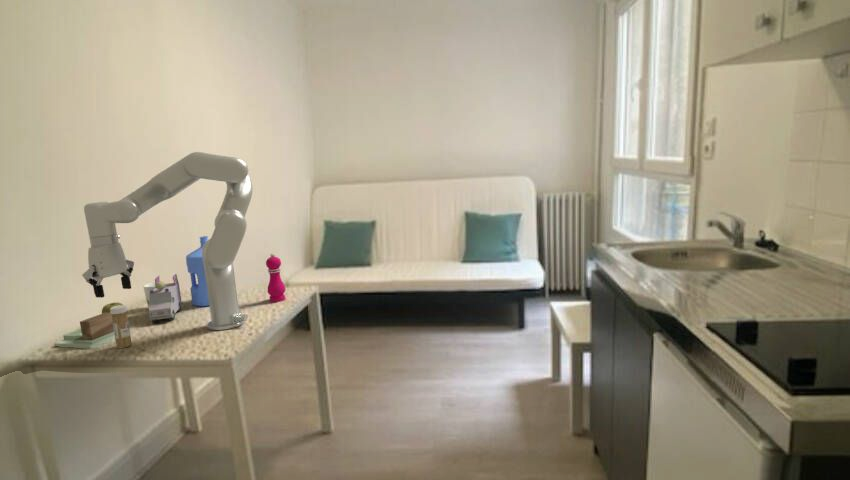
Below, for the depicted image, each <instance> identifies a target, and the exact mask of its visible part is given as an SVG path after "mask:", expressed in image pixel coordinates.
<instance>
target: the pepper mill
mask: <svg viewBox="0 0 850 480" xmlns="http://www.w3.org/2000/svg"><path fill="white" fill-rule="evenodd" d="M275 255H276V254H275V253H274V252H273V253H270V257H268V258H267V259H266V261H265V266H266V268H268V269H267V272H268V273H269V283H268V286H267V294H268V295H269V302H271V303H278V302H280V303H281V302H282V301H285V300H286V295H285V292H286V286H285V284H284V282H283V280H282V278H281V266H282V260H281V258H279V257H277V256H275Z"/></svg>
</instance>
